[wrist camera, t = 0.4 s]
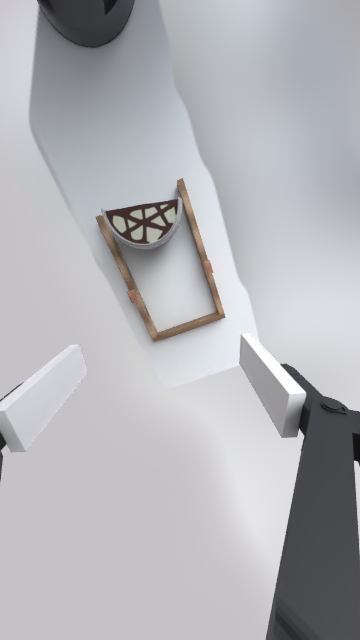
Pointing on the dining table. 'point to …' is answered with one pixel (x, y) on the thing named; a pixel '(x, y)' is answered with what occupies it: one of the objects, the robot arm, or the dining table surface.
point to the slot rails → (134, 291)
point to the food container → (145, 223)
